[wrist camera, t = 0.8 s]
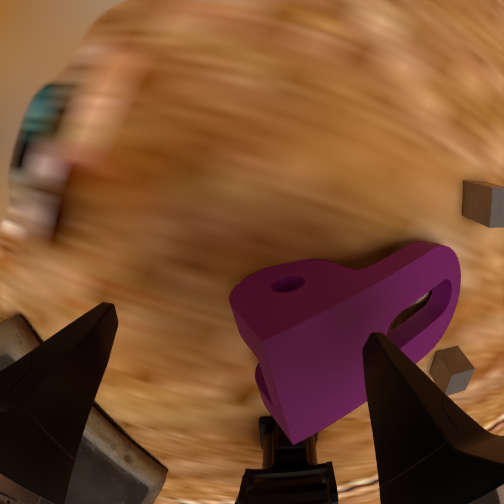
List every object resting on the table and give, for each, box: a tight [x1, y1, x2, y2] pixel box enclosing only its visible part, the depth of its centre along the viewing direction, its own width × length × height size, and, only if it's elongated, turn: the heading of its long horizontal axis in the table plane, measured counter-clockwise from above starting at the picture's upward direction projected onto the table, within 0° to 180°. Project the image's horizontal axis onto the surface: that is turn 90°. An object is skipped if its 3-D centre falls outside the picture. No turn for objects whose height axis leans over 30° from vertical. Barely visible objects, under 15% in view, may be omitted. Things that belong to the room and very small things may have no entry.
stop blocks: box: [429, 181, 504, 396], centre depth 20 cm, size 20×3×4 cm, turn 4°
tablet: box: [0, 315, 168, 504], centre depth 20 cm, size 33×14×25 cm, turn 33°
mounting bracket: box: [229, 241, 461, 445], centre depth 21 cm, size 9×8×18 cm
